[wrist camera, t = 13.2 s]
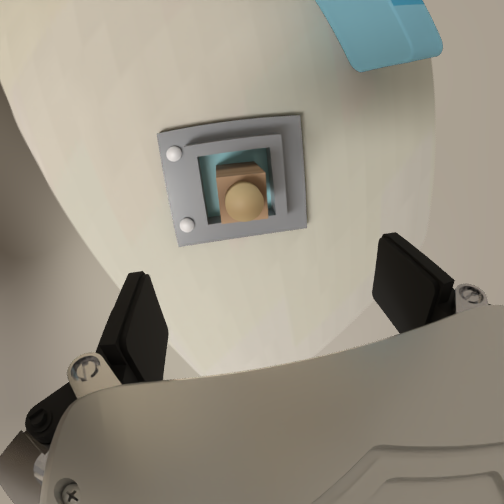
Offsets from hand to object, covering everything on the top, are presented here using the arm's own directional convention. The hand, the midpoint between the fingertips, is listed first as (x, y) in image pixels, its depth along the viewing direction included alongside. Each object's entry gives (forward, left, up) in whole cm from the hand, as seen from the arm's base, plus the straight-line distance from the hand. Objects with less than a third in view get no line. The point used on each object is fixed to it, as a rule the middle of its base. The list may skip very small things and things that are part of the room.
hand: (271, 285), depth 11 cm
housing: (0, 0, -22) cm, 22 cm away
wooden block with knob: (0, 0, -21) cm, 21 cm away
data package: (-18, +15, -22) cm, 32 cm away
